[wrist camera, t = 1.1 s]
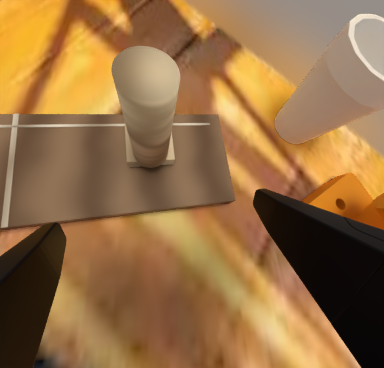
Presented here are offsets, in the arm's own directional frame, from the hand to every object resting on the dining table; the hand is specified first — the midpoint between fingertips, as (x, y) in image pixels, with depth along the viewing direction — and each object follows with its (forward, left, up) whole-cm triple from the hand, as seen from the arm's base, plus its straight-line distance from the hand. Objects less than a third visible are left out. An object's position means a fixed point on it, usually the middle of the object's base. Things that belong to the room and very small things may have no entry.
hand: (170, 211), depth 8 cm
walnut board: (+4, +9, -14) cm, 17 cm away
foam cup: (+22, -14, -14) cm, 29 cm away
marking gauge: (+9, +5, -13) cm, 17 cm away
